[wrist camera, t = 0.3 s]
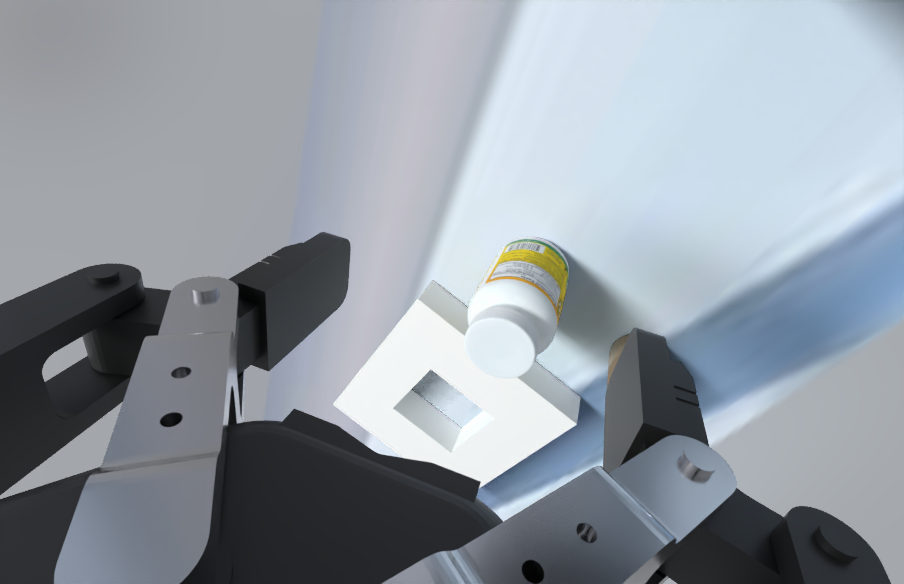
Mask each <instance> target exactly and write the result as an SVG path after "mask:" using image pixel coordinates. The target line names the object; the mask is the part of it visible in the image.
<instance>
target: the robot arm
mask: <svg viewBox="0 0 904 584" xmlns="http://www.w3.org/2000/svg"><path fill="white" fill-rule="evenodd" d="M349 263H350V242H349V241H348V240H347V239H345V238H342V237H338V236H335V235H332V234H329V233H325V232H321V233H319V234H318V235H316V236H314V237H313V238H311V239H309V240H308V241H306V242H304V243H298V244H294V245H290V246H287V247H284V248H282V249H280V250H278V251H277V252H275V253H273V254H272V256H268V257H266V258H265V259H263V260H262V261H261V262H258V263H256V264H254V265H252V266H251V267H249V268H247V269H246V270H244V271H242V272H240V273H239V274H237V275H235V276H233V277H232V278H230V279H225V278H221V277H209V276H208V277H198V278H192V279H189V280H186V281H183V282H181V283H179V284H178V285H176V286H175V287H174V288H173V289H172V291H170V290H161V289H153V288H144V286H143V281H142V277H141V273H140V271H139V270H138V269H136V268H135V267H132V266H129V265H124V264H101V265H94V266H90V267H87V268H83V269H81V270H78V271H76V272H73V273H71V274H69V275H67V276H64V277H62V278H60V279H57V280H55V281H53V282H51V283H48V284H46V285H44V286H42V287H39V288H37V289H35V290H32V291H30V292H28V293H26V294H23V295H21V296H19V297H16V298H14V299H12V300H10V301H7V302H5V303H3V304H1V305H0V495H1V494H2V493H4V492H5V491H6V490H8V489H9V488H10V487H11V486H12V485H14V484H15V483H17V482H18V481H19V480H21V479H22V478H23V477H25V476H26V475H27V474H28V473H30V472H31V471H32V470H34V469H35V468H36V467H38V466H39V465H40V464H42V463H43V462H44V461H45V460H47V459H48V458H49V457H51V456H52V455H53V454H55V453H56V452H57V451H58V450H60V449H61V448H63V447H64V446H65V445H66V444H67V443H69V442H70V441H72V440H73V439H74V438H75V437H77V436H78V435H79V434H81V433H82V432H83V431H85V430H86V429H87V428H89V427H90V426H91V425H93V424H94V423H95V422H96V421H98V420H99V419H100V418H102V417H103V416H104V415H106V414H107V413H108V412H109V411H111V410H112V409H113V408H115V407H116V406H117V405H118V404H120V403H121V402H123V403H122V406H121V409H120V412H119V415H118V418H117V421H116V424H115V427H114V430H113V433H112V436H111V439H110V442H109V445H108V448H107V451H106V454H105V457H104V460H103V463H102V465H101V467H98V468H95V469H92V470H89V471H86V472H83V473H80V474H77V475H74V476H71V477H68V478H65V479H62V480H59V481H56V482H52V483H49V484H46V485H43V486H40V487H37V488H34V489H31V490H28V491H25V492H22V493H18V494H15V495H12V496H9V497H6V498H3V499H0V584H663V583H664V582H665V581H666V580H667V579H668V578H671V579H672V580H673V581H675V582H676V583H677V584H891V583H890V580H889V578H888V576H887V574H886V572H885V570H884V567H883V565H882V563H881V561H880V560H879V558H878V556H877V555H876V553H875V552H874V550H873V549H872V548H871V547H870V546H869V545H868V544H867V542H866V541H865V540H864V539H863V538H862V537H861V536H860V535H858V534H857V533H856V532H855V531H854V530H853V529H851V528H850V527H849V526H848V525H846V524H845V523H843V522H842V521H840V520H839V519H837V518H835V517H834V516H832V515H830V514H828V513H826V512H823V511H821V510H818V509H815V508H812V507H805V506H799V507H795V508H792V509H791V510H790V511H789V512H788V513H787V514H786V515H785V517H782V516H781V515H779V514H777V513H776V512H774V511H772V510H770V509H769V508H767V507H765V506H764V505H762V504H760V503H759V502H757V501H755V500H754V499H752V498H750V497H749V496H747V495H746V494H744V493H743V492H741V491H740V490H739V489H737V488H736V485H737V483H736V482H737V481H736V477H735V475H734V472H733V470H732V469H731V468H730V466H729V464H728V463H727V462H726V461H725V460H724V459H723V458H722V457H721V456H720V455H719V454H718V453H717V452H716V451H715V450H713V449H712V448H710V447H709V444H708V439H707V435H706V431H705V427H704V423H703V418H702V414H701V410H700V408H699V401H698V397H697V395H696V389H695V384H694V380H693V377H692V376H691V375H690V373H689V372H688V371H687V369H686V368H685V367H684V365H683V364H682V363H681V362H678V361H675V360H672V359H669V355H668V349H667V344H666V339H665V337H663V336H660V335H657V334H653V333H650V332H647V331H644V330H640V329H637V328H634V329H633V330H632V331H631V333H630V335H629V337H628V339H627V341H626V343H625V346H624V348H623V350H622V352H621V355H620V357H619V359H618V361H617V363H616V366H615V368H614V370H613V372H612V375H611V377H610V380H609V383H608V387H607V391H606V398H605V428H604V458H603V467H602V466H596V467H594V468H592V469H590V470H588V471H587V472H585V473H583V474H582V475H580V476H578V477H577V478H575V479H573V480H572V481H570V482H568V483H567V484H565V485H563V486H562V487H560V488H558V489H557V490H555V491H554V492H552V493H550V494H549V495H547V496H545V497H544V498H542V499H540V500H539V501H537V502H535V503H534V504H532V505H530V506H529V507H527V508H525V509H524V510H522V511H521V512H519V513H517V514H516V515H514V516H512V517H511V518H509V519H507V520H506V521H504V522H503V521H502V520H501V519H500V518H499V517H498V516H497V514H496V513H495V512H493V511H492V510H491V509H490V508H489V507H488V506H487V505H485V504H484V503H483V502H481V501H480V500H479V499H477V498H476V496H477V493H478V490H479V486H480V483H481V482H480V481H478V480H475V479H473V478H470V477H467V476H465V475H462V474H460V473H457V472H455V471H452V470H450V469H447V468H444V467H442V466H439V465H437V464H434V463H431V462H425V461H418V460H412V459H406V458H399V457H393V456H387V455H381V454H378V453H376V452H374V451H373V450H371V449H370V448H368V447H367V446H365V445H364V444H363V443H361V442H360V441H358V440H357V439H356V438H354V437H353V436H351V435H350V434H348V433H347V432H346V431H344V430H343V429H341V428H340V427H339V426H337V425H335V424H332V423H329V422H327V421H324V420H322V419H319V418H317V417H314V416H312V415H309V414H306V413H304V412H301V411H299V410H296V409H293V411H292V412H291V413H290V414H289V415H288V416H287V417H286V418H285V419H284V420H283V422H280V421H250V422H243V420H244V396H245V371H244V370H245V369H246V368H247V367H249V366H250V365H253V366H256V367H258V368H261V369H264V370H266V371H270V370H271V369H272V368H273V367H274V366H275V365H276V364H277V363H278V362H280V361H281V360H282V359H283V358H284V357H285V356H286V355H287V354H288V353H289V352H291V351H292V350H293V349H294V348H295V347H296V346H297V345H298V344H299V343H300V342H302V341H303V340H304V339H305V338H306V337H307V336H308V335H309V334H310V333H311V332H313V331H314V330H315V329H316V328H317V327H318V326H319V325H320V324H321V323H322V322H324V321H325V320H326V319H327V318H328V317H329V316H330V315H331V314H332V313H333V312H335V311H336V310H337V309H338V308H339V307H340V306H341V304H342V303H343V301H344V299H345V297H346V294H347V290H348V279H349ZM80 337H83V340H84V343H85V347H86V350H87V353H88V356H87V357H85V358H83V359H82V360H80V361H79V362H77V363H75V364H74V365H72V366H71V367H69V368H67V369H66V370H64V371H62V372H61V373H59V374H58V375H56V376H54V377H53V378H51V379H50V380H48V381H46V382H44V379H43V376H42V368H43V365H44V363H45V361H46V360H47V359H48V357H49V356H50V355H52V354H53V353H54V352H56V351H57V350H59V349H61V348H63V347H64V346H66V345H68V344H69V343H71V342H73V341H75V340H76V339H78V338H80Z"/></svg>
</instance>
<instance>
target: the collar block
mask: <svg viewBox="0 0 904 584" xmlns="http://www.w3.org/2000/svg"><path fill="white" fill-rule="evenodd" d="M467 315H468V308H467V307H466V306H465V305H464V304H462V303H461V302H460V301H459V300H457V299H456V298H455V297H454V296H452V295H451V294H450V293H449V292H447V291H446V290H445V289H443V288H442V287H441V286H440V285H438V284H437V283H436V282H435V281H433V280H432V281H431V283H430V284H429V285H428V286H427V288H426V289H425V290H424V291H423V293H422V294H421V295H420V296H419V298H418V299H417V300H416V301H415V303H414V304H413V305H412V306H411V308H410V309H409V310H408V311H407V313H406V314H405V315H404V316H403V318H402V319H401V320H400V321H399V323H398V324H397V325H396V326H395V327H394V329H393V330H392V331H391V332H390V334H389V335H388V336H387V337H386V339H385V340H384V341H383V342H382V344H381V345H380V346H379V347H378V349H377V350H376V351H375V352H374V354H373V355H372V356H371V357H370V359H369V360H368V361H367V362H366V364H365V365H364V366H363V367H362V369H361V370H360V371H359V372H358V373H357V375H356V376H355V377H354V378H353V380H352V381H351V382H350V383H349V385H348V386H347V387H346V389H345V390H344V391H343V392H342V394H341V395H340V396H339V398H338V399H337V400H336V401H335V403H334V404H333V405H334V406H336V407H337V408H338V409H339V410H341V411H342V412H343V413H345V414H346V415H347V416H349V417H350V418H351V419H353V420H354V421H355V422H357V423H358V424H359V425H361V426H362V427H363V428H364V429H366V430H367V431H368V432H370V433H371V434H372V435H374V436H375V437H376V438H378V439H379V440H380V441H382V442H383V443H384V444H385V445H387V446H388V447H389V448H391V449H392V450H393V451H395V452H396V453H397V454H399V455H400V456H401V457H403V458H406V459H412V460H418V461H425V462H431V463H434V464H437V465H439V466H442V467H444V468H447V469H450V470H452V471H455V472H457V473H460V474H462V475H465V476H467V477H470V478H473V479H475V480H478V481H480V482H481V483H480V486H479V488H480V487H482V486H483V485H485V484H486V483H488V482H489V481H491V480H493V479H494V478H496V477H497V476H499V475H500V474H502V473H503V472H505V471H506V470H508V469H509V468H511V467H512V466H514V465H516V464H517V463H519V462H520V461H522V460H523V459H525V458H526V457H528V456H529V455H531V454H532V453H534V452H535V451H537V450H539V449H540V448H542V447H543V446H545V445H546V444H548V443H549V442H551V441H552V440H554V439H555V438H557V437H558V436H560V435H561V434H563V433H565V432H566V431H568V430H569V429H571V428H572V427H574V426H575V425H577V421H578V413H579V406H580V399H581V397H580V396H578V395H577V394H576V393H575V392H573V391H572V390H571V389H570V388H568V387H567V386H566V385H565V384H563V383H562V382H561V381H560V380H558V379H557V378H556V377H554V376H553V375H552V374H551V373H549V372H548V371H547V370H546V369H544V368H543V367H542V366H541V365H539V364H538V363H537V362H536V361H535V362H534V364H533V366H532V367H531V369H530V370H529V371H527V372H526V373H525V374H523V375H521V376H518V377H515V378H498V377H494V376H491V375H489V374H487V373H485V372H483V371H482V370H480V369H479V368H478V367H476V366H475V365H474V364H473V363H472V361H471V360H470V359H469V357H468V355H467V353H466V350H465V346H464V339H465V334H466V332H467V330H468V328H469V324H468V317H467ZM430 370H432V371H434V372H435V373H436V374H438V375H439V376H440V377H441V378H443V379H444V380H445V381H447V382H448V383H449V384H450V385H452V386H453V387H454V388H456V389H457V390H458V391H459V392H461V393H462V394H463V395H465V396H466V397H467V398H468V399H470V400H471V401H472V402H473V403H475V404H476V405H477V406H479V407H480V408H481V409H482V410H483V411H482V412H481V413H480V414H479V415H477V416H476V417H475V418H474V419H472V420H471V421H470V422H469V423H468V424H466V425H465V426H464V427H463V428H461V427H459V426H458V425H457V424H456V423H454V422H453V421H452V420H450V419H449V418H448V417H447V416H445V415H444V414H443V413H441V412H440V411H439V410H437V409H436V408H435V407H434V406H432V405H431V404H430V403H428V402H427V401H426V400H425V399H423V398H422V397H421V396H419V395H418V394H417V393H415V392H414V391H413V390H412V388H413V387H414V386H415V385H416V384H417V383H418V382H419V381H420V380H421V379H422V378H423V377H424V376H425V375H426V374H427V373H428V372H429V371H430Z"/></svg>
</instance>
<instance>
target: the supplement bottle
mask: <svg viewBox="0 0 904 584" xmlns="http://www.w3.org/2000/svg"><path fill="white" fill-rule="evenodd" d="M568 280H569V265H568V262H567V260H566V258H565V256H564V255H563V253H562V252H561V251H560V250H559V249H558V248H557V247H556V246H555V245H553V244H552V243H550V242H549V241H547V240H544V239H541V238H537V237H521V238H517V239H515V240H512V241H510V242H509V243H507V244H506V245H505V246H504V247H503V248H502V249H501V250H500V251H499V253H498V254H497V256H496V257H495V259H494V261H493V263H492V264H491V266H490V268H489V269H488V271H487V273H486V275H485V276H484V278H483V280H482V281H481V283H480V285H479V286H478V288H477V290H476V292H475V293H474V295H473V297H472V299H471V301H470V303H469V307H468V315H467V317H468V324H469V328H468V330H467V332H466V334H465V339H464V346H465V350H466V353H467V355H468V357H469V359H470V360H471V361H472V363H473V364H474V365H475V366H476V367H478V368H479V369H480V370H482V371H483V372H485V373H487V374H489V375H491V376H494V377H498V378H515V377H518V376H521V375H523V374H525V373H526V372H527V371H529V370H530V369H531V367H532V366H533V364H534V362H535V359H536V356H537V355H538V354H540V353H541V352H543V351H544V350H545V349H546V348H547V347H548V346H549V345H550V343H551V342H552V340H553V338H554V336H555V333H556V330H557V326H558V322H559V319H560V315H561V310H562V307H563V302H564V298H565V294H566V290H567V286H568Z"/></svg>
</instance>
